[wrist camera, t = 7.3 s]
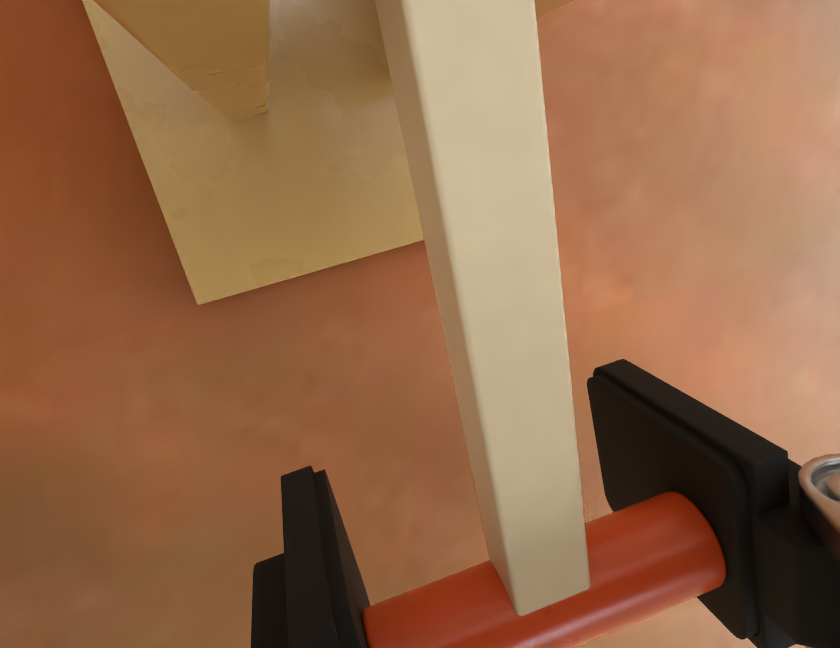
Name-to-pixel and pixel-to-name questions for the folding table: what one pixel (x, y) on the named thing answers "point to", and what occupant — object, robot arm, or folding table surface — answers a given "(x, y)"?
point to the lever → (514, 356)
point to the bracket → (264, 132)
